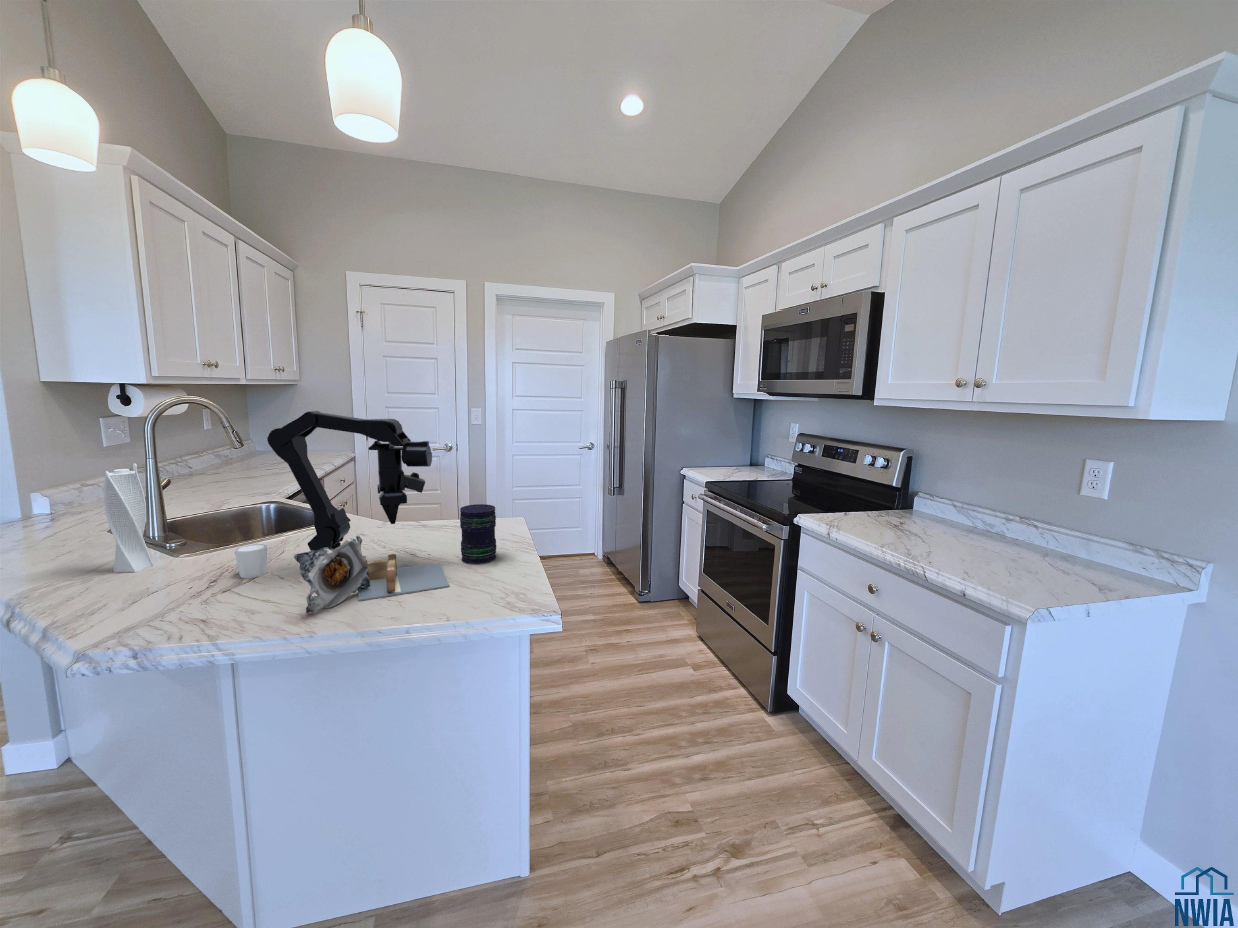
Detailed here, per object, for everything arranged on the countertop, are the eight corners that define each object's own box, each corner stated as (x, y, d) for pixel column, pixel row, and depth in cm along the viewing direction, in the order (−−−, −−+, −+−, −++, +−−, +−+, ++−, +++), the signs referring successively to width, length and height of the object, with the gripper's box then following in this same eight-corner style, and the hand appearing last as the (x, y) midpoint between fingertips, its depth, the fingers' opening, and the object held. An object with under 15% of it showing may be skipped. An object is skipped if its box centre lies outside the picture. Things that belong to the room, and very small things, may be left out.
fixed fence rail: (360, 582, 125) (359, 563, 124) (360, 579, 126) (359, 560, 125) (387, 578, 127) (386, 559, 127) (387, 576, 129) (386, 557, 128)
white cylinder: (275, 571, 132) (273, 546, 131) (247, 580, 125) (244, 553, 124) (259, 567, 134) (257, 542, 133) (230, 576, 128) (228, 549, 127)
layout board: (358, 601, 115) (358, 599, 115) (358, 574, 130) (357, 573, 130) (449, 586, 124) (449, 585, 124) (438, 563, 140) (438, 562, 140)
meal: (357, 585, 122) (351, 534, 120) (371, 588, 121) (365, 535, 119) (300, 612, 108) (293, 555, 106) (315, 615, 107) (308, 557, 105)
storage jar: (475, 567, 138) (474, 514, 136) (453, 559, 144) (452, 508, 141) (503, 557, 146) (503, 507, 143) (482, 550, 151) (481, 502, 149)
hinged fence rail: (389, 574, 129) (388, 554, 128) (397, 573, 130) (396, 553, 129) (386, 592, 118) (385, 570, 117) (395, 591, 119) (394, 569, 118)
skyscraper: (162, 563, 136) (150, 461, 132) (137, 573, 128) (123, 465, 124) (132, 563, 135) (119, 461, 131) (105, 573, 128) (90, 465, 124)
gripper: (426, 470, 129) (429, 529, 131) (418, 460, 145) (420, 513, 147) (378, 472, 123) (382, 534, 126) (375, 462, 140) (378, 516, 142)
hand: (393, 523), depth 135 cm, fingers closed
